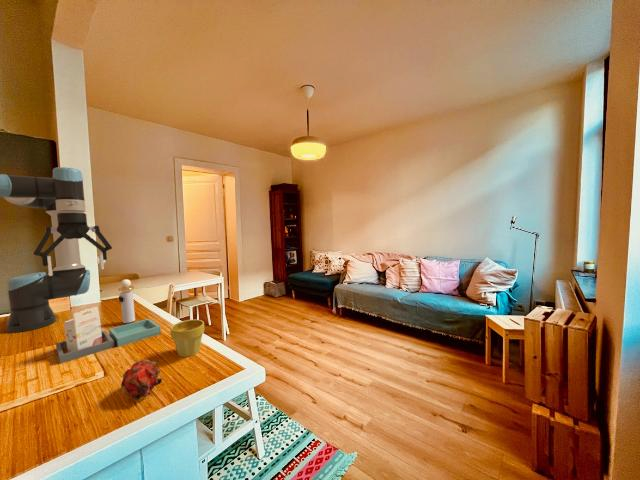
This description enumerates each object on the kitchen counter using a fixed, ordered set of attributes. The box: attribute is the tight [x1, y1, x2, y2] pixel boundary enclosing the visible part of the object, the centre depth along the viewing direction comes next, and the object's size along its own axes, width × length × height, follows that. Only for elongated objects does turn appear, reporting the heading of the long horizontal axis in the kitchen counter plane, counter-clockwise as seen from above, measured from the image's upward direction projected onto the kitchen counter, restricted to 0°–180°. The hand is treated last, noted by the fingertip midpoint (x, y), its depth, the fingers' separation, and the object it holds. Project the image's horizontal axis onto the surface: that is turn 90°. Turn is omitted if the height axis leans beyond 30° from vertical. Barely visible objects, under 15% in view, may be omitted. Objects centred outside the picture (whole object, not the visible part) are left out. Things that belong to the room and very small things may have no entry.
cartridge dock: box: [55, 330, 115, 364], centre depth 94 cm, size 14×14×2 cm
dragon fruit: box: [120, 358, 164, 400], centre depth 69 cm, size 8×8×12 cm
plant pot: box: [170, 318, 205, 358], centre depth 90 cm, size 10×10×10 cm
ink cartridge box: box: [63, 306, 103, 353], centre depth 94 cm, size 9×5×15 cm, turn 168°
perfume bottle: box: [117, 278, 136, 324], centre depth 118 cm, size 6×6×20 cm
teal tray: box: [108, 318, 162, 348], centre depth 105 cm, size 14×14×3 cm
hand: (77, 272), depth 93 cm, fingers open, 13 cm apart
